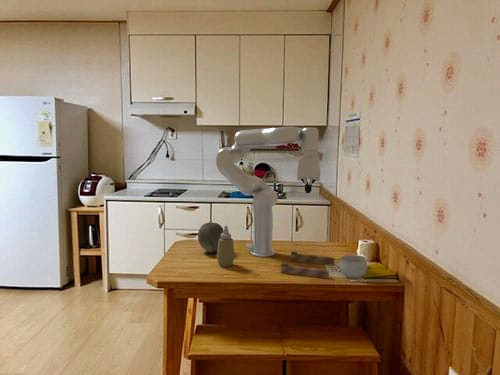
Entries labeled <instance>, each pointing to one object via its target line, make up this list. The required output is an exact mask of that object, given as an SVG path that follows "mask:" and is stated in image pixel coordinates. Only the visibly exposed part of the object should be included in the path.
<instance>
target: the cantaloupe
mask: <svg viewBox="0 0 500 375" xmlns="http://www.w3.org/2000/svg"><path fill="white" fill-rule="evenodd" d="M223 231H224V228H223V226H222V225H221V224H219V223H217V222H211V221H210V222H205V223H203V224H202V225H201V226H200V228H199V229H198V232H197V241H198V243H199V245H200V247H201V248H202V249H204V250H205V251H206V252H208V253H211V254H214V253H217V250H218V241H219V239H220V238H221V234H222V233H223Z"/></svg>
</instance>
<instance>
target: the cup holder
mask: <svg viewBox="0 0 500 375" xmlns="http://www.w3.org/2000/svg"><path fill="white" fill-rule="evenodd" d="M290 261H295V262H303V263H311V264H320V265H329V266H335V257H331V256H321V255H314V254H304V253H298V251H291V254H290ZM280 273H281V274H289V275H297V276H305V277H312V278H318V279H319V278H320V279H329V276H330V275H329V274H330V270H328V269H323V268H322V269H321V268H314V267H306V266H300V265H299V266H298V265H297V266H296V265H289V264H288V262H282V263H281V264H280Z"/></svg>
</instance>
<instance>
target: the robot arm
mask: <svg viewBox="0 0 500 375" xmlns="http://www.w3.org/2000/svg"><path fill="white" fill-rule="evenodd" d="M233 137H234V144H233V145H232V146H228V147H227V146H226V147H223V148H220V149H219V150H218V151H217V153H216V157H215V163H216V167H217V169H218V171H219V173H220V174H221V175H222V176H223V177H225V179H226V180H227V181H229V182H230V184H232V185H233V186H234V187H235V188H236V189H237V190H238V191H239V192H240V193H242V194H243V195H244V196H251V195H252V196H253V198H252V211H253V212H252V214H253V231H252V232H253V236H252V237H253V239H252V240H253V243H245V248H246V249H250V250H249V254H250V255H252V256H254V257H261V258H262V257H263V258H264V257H266V258H267V257H273V256H275V254H276V250H275V249H273V229H274V228H273V227H274V226H273V225H274V224H273V222H274V221H273V220H274V217H273V216H274V215H273V214H274V213H273V207H274V206H276V205H277V203H278V201H279V200H278V199H279V198H278V194H277V193H276V191H275V190H274V189H273V188H271V186H269V185H268V184H267V183H266V182H265V181H264V180H263V179H262V178H261V177H258V176H257V175H248V174H247V173H246V172H245V171H244V170H243V169H242V168H241V167H239V166H238V165H236V163H239V162H240V161H242V159H243V158H244V157H245V156H246V155H247V154H248V153H249V152H250V151H251V149H252V148H254V147H268V146H271V145H280V144H299V143H301V149H300V151H298V152H297V153H298V155H300V156H299V158H298V162H297V164H298V165H297V172H296V175H297V178H296V179H297V181H301V182H302V183H303V184H304V191H305V194H310V193H311V192H312V187H313V186H312V185H313V184H314V183H315V182H320V181H321V177H320V176H321V164H320V158H319V156H318V153H319V152H318V149H319V129H318V128H317V127H297V126H280V127H271V128H268V127H266V128H257V129H256V128H255V129H254V128H253V129H244V130H242V129H241V130H239V131H237V132H236V133H235V135H234V136H233ZM308 179H309V182H308Z"/></svg>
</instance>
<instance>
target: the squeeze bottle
mask: <svg viewBox="0 0 500 375" xmlns="http://www.w3.org/2000/svg"><path fill="white" fill-rule="evenodd" d="M234 245H235V244H234V239H233V238H232V233H229V228H228V225H225V226H224V228H223V233H222V234H221V238H220V239H219V241H218V250H217V252H216V260H217V263H218V266H220V267H224V268H226V267H227V268H228V267H231V266H232V265H233V263H234V260H235V246H234Z"/></svg>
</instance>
